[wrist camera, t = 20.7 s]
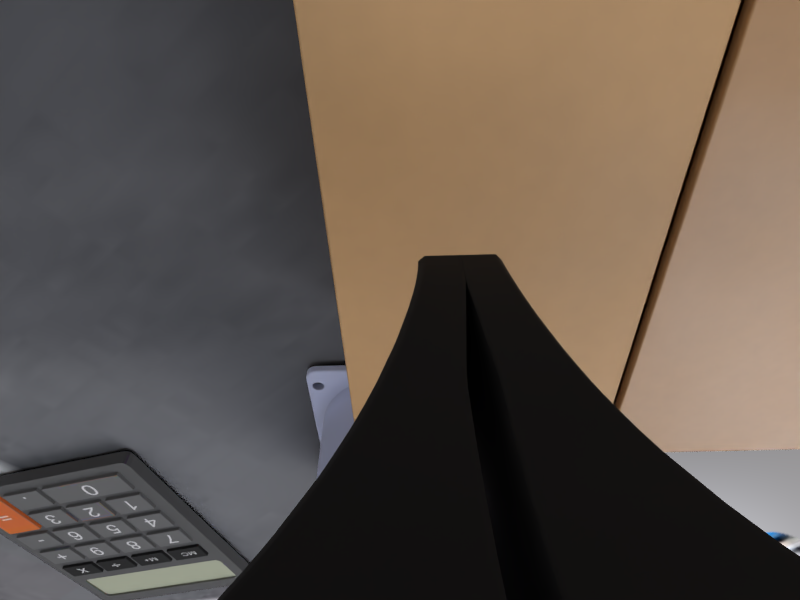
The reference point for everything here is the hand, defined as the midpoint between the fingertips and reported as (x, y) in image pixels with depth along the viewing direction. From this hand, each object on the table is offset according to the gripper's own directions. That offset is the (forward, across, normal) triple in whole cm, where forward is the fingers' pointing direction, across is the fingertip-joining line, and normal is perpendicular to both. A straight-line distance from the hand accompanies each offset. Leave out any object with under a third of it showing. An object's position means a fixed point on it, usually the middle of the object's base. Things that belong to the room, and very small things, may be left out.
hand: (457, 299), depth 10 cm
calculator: (+10, +20, +28) cm, 36 cm away
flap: (+4, -1, +3) cm, 5 cm away
